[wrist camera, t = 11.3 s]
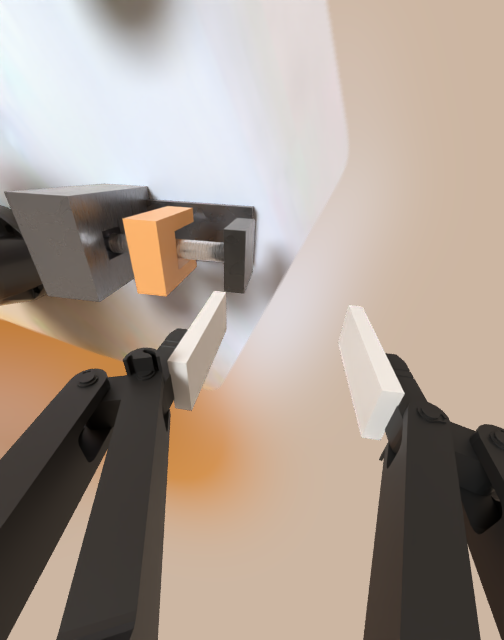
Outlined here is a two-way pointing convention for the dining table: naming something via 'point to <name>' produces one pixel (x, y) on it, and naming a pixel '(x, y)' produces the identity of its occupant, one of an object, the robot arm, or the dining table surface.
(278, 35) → the dining table surface
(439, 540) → the robot arm
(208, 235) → the block
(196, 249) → the shaft
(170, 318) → the dining table surface
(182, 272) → the block
